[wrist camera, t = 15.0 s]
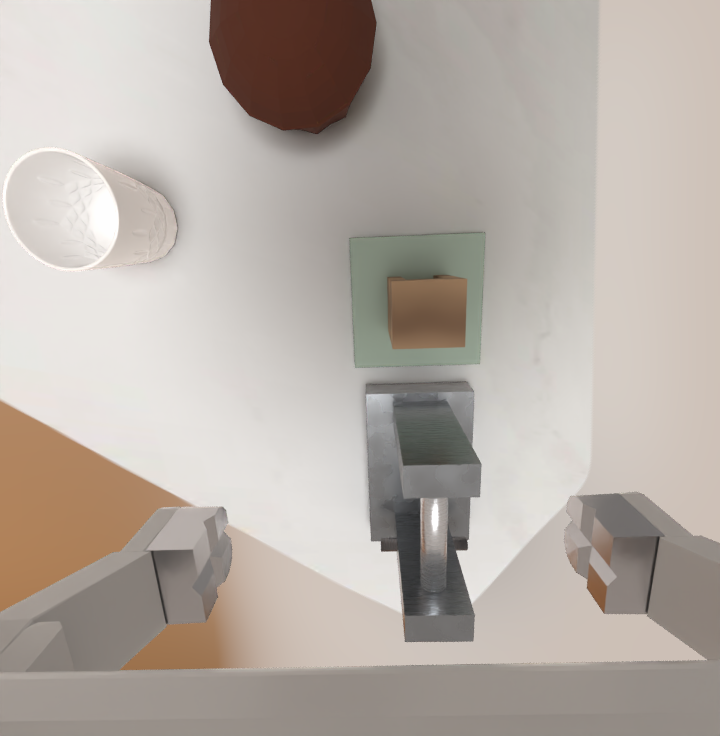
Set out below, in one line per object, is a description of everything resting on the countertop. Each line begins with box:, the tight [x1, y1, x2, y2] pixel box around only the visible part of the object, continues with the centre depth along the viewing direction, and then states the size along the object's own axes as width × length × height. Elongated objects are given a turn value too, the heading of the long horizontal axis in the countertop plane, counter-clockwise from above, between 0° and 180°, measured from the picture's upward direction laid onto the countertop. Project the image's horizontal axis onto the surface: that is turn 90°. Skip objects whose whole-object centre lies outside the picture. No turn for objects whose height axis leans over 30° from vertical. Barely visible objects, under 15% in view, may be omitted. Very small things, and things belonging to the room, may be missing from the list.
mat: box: [349, 232, 485, 368], centre depth 38 cm, size 12×12×1 cm
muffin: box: [209, 0, 376, 134], centre depth 28 cm, size 12×11×10 cm
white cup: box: [2, 147, 178, 272], centre depth 32 cm, size 8×8×10 cm
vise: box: [366, 382, 481, 642], centre depth 35 cm, size 16×10×15 cm, turn 2°
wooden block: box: [387, 275, 467, 349], centre depth 33 cm, size 5×5×8 cm
